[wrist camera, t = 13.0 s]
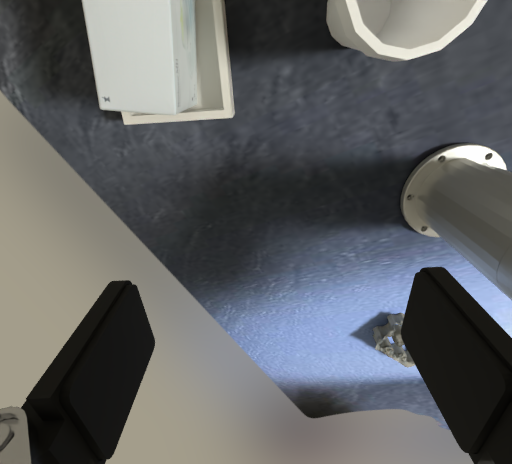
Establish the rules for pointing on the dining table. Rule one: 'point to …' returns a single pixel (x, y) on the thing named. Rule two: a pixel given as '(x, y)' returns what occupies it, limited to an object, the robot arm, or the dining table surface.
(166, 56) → the skincare box
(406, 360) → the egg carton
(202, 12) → the trough
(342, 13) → the foam cup
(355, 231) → the dining table surface
